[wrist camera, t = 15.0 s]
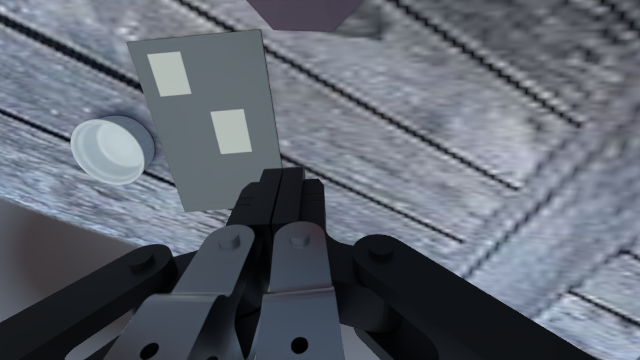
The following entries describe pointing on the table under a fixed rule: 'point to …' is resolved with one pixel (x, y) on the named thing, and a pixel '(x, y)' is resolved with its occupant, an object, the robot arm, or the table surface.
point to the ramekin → (112, 149)
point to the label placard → (210, 112)
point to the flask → (304, 13)
